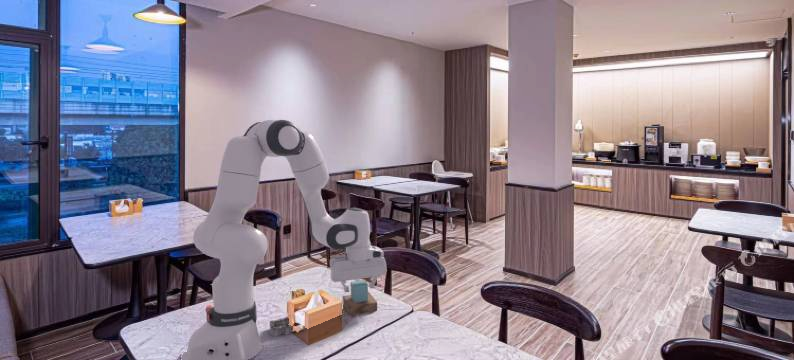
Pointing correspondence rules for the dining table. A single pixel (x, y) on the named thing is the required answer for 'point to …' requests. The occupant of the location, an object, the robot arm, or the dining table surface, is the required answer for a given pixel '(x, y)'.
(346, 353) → the dining table surface
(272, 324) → the egg carton
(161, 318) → the dining table surface
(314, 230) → the robot arm
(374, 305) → the walnut plinth
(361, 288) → the teal block
